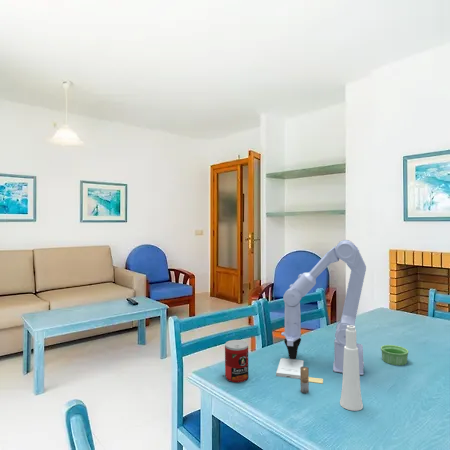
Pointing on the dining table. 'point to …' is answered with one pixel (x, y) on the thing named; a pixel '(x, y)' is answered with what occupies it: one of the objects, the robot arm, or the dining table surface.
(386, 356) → the ramekin
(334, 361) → the robot arm
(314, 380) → the plate
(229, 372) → the canned food
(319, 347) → the dining table surface
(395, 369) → the dining table surface
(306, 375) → the photo-textured cylinder
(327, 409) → the dining table surface
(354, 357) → the cosmetic bottle
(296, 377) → the external hard drive
